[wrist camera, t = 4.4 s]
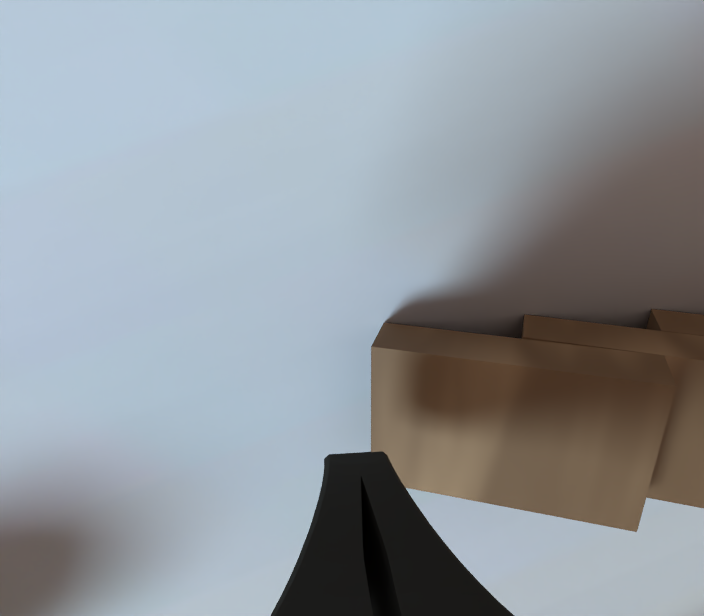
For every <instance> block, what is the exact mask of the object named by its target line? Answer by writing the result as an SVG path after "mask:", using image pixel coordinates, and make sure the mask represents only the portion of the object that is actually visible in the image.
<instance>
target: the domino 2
mask: <svg viewBox="0 0 704 616" xmlns="http://www.w3.org/2000/svg"><path fill="white" fill-rule="evenodd" d="M521 339H528V340H537V341H545V342H554V343H562V344H571V345H579V346H588V347H596V348H605V349H613V350H622V351H630V352H639V353H647V354H656V355H664V356H665V359H666V361H667V364H668V366H669V369H670V371H671V374H672V376H673V379H674V381H675V384H676V389H675V393H674V397H673V401H672V404H671V408H670V412H669V415H668V419H667V423H666V426H665V430H664V434H663V437H662V441H661V445H660V448H659V452H658V456H657V459H656V463H655V467H654V470H653V474H652V478H651V481H650V485H649V489H648V492H647V496H646V497H647V498H652V499H658V500H663V501H668V502H674V503H679V504H684V505H689V506H695V507H700V508H704V336H699V335H691V334H682V333H674V332H666V331H658V330H649V329H641V328H633V327H625V326H616V325H608V324H600V323H591V322H583V321H575V320H567V319H558V318H550V317H542V316H534V315H525V314H524V320H523V327H522V334H521Z"/></svg>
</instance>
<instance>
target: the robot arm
mask: <svg viewBox="0 0 704 616" xmlns="http://www.w3.org/2000/svg"><path fill="white" fill-rule="evenodd" d="M271 616H514V615H513V614H512V613H511V612H509V611H508V610H507V609H506V608H505V607H504V606H503V605H502V604H500V603H499V602H498V601H497V600H496V599H495V598H494V597H493V596H492V595H491V594H490V593H489V592H488V591H487V590H486V589H485V588H484V587H483V586H482V585H481V584H480V583H479V582H478V581H477V580H476V578H475V577H474V576H473V575H472V574H471V573H470V572H469V571H468V570H467V569H466V568H465V567H464V565H463V564H462V563H461V562H460V561H459V560H458V559H457V557H456V556H455V555H454V554H453V553H452V552H451V550H450V549H449V548H448V547H447V545H446V544H445V543H444V542H443V540H442V539H441V538H440V537H439V535H438V534H437V533H436V531H435V530H434V529H433V528H432V526H431V525H430V524H429V522H428V521H427V519H426V518H425V516H424V515H423V514H422V512H421V511H420V509H419V508H418V507H417V505H416V504H415V502H414V501H413V499H412V498H411V496H410V495H409V493H408V491H407V490H406V488H405V487H404V485H403V483H402V482H401V480H400V478H399V477H398V475H397V473H396V471H395V470H394V468H393V466H392V464H391V462H390V460H389V458H388V455H387V454H385V453H384V452H383V451H379V452H363V453H346V454H329V455H328V456H327V457H326V458H325V459H324V476H323V482H322V487H321V491H320V496H319V500H318V503H317V507H316V510H315V513H314V517H313V520H312V523H311V526H310V529H309V532H308V535H307V537H306V540H305V542H304V545H303V548H302V550H301V553H300V556H299V558H298V560H297V563H296V565H295V567H294V570H293V572H292V574H291V576H290V579H289V581H288V583H287V585H286V587H285V589H284V591H283V593H282V595H281V597H280V599H279V601H278V603H277V605H276V607H275V608H274V610H273V612H272V614H271Z"/></svg>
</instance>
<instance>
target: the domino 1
mask: <svg viewBox="0 0 704 616" xmlns="http://www.w3.org/2000/svg"><path fill="white" fill-rule="evenodd" d="M675 389H676V384H675V381H674V379H673V376H672V374H671V371H670V369H669V366H668V364H667V361H666V359H665V356H664V355H656V354H647V353H639V352H630V351H622V350H613V349H605V348H596V347H588V346H579V345H571V344H562V343H554V342H545V341H537V340H528V339H520V338H511V337H503V336H494V335H486V334H477V333H469V332H460V331H452V330H443V329H435V328H426V327H418V326H409V325H401V324H392V323H384V324H383V325H382V327H381V329H380V331H379V333H378V335H377V337H376V339H375V341H374V343H373V344H372V346H371V452H379V451H383V452H384V453H385V454H387V455H388V458H389V460H390V462H391V464H392V466H393V468H394V470H395V471H396V473H397V475H398V477H399V478H400V480H401V482H402V483H403V485H404V487H406V488H411V489H416V490H421V491H426V492H432V493H437V494H442V495H447V496H452V497H458V498H463V499H468V500H473V501H479V502H484V503H489V504H494V505H499V506H505V507H510V508H515V509H520V510H525V511H531V512H536V513H541V514H546V515H552V516H557V517H562V518H567V519H572V520H578V521H583V522H588V523H593V524H598V525H604V526H609V527H614V528H619V529H625V530H630V531H635V532H637V529H638V526H639V522H640V518H641V515H642V511H643V507H644V504H645V500H646V496H647V492H648V489H649V485H650V481H651V478H652V474H653V470H654V467H655V463H656V459H657V456H658V452H659V448H660V445H661V441H662V437H663V434H664V430H665V426H666V423H667V419H668V415H669V412H670V408H671V404H672V401H673V397H674V393H675Z"/></svg>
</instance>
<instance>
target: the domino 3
mask: <svg viewBox="0 0 704 616" xmlns="http://www.w3.org/2000/svg"><path fill="white" fill-rule="evenodd" d="M646 329H649V330H658V331H666V332H674V333H682V334H691V335H699V336H704V315H701V314H692V313H683V312H675V311H666V310H657V309H651V312H650V316H649V320H648V324H647V327H646Z"/></svg>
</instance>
